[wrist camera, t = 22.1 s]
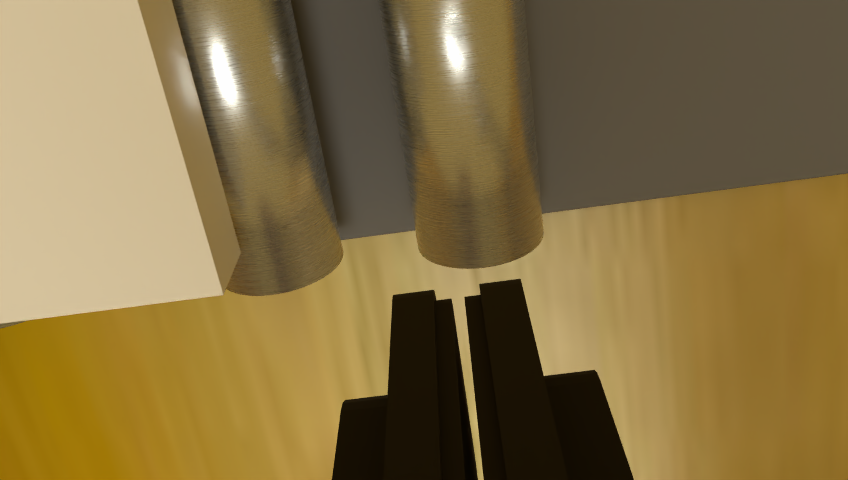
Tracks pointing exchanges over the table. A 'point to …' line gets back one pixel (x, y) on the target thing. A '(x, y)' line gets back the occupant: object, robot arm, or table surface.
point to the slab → (104, 162)
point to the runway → (605, 100)
